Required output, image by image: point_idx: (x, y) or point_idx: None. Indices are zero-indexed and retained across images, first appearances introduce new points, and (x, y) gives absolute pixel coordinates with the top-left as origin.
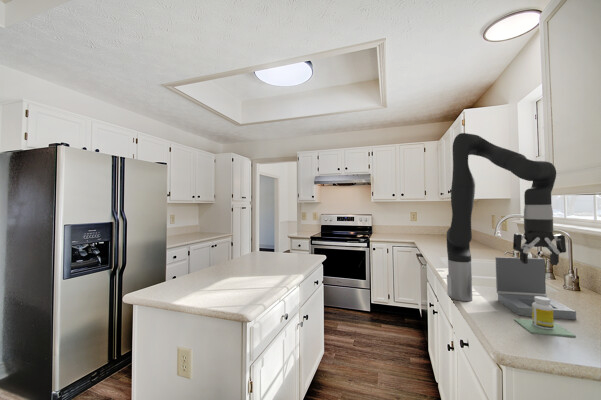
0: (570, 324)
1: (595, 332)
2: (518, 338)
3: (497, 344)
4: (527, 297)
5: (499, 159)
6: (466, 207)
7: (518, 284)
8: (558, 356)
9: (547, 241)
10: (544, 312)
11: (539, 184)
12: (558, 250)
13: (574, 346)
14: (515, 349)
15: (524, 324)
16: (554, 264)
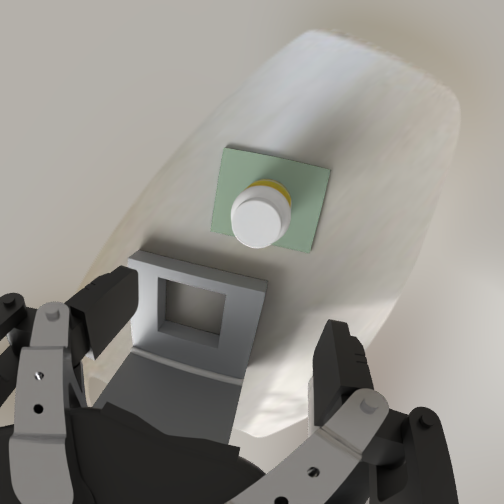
0: (173, 222)
1: (152, 178)
2: (387, 146)
3: (450, 129)
4: (182, 350)
5: None
6: None
7: (182, 388)
8: (357, 64)
9: (49, 449)
10: (276, 188)
11: None
12: (33, 329)
13: (275, 100)
14: (428, 103)
15: (311, 215)
16: (135, 271)
